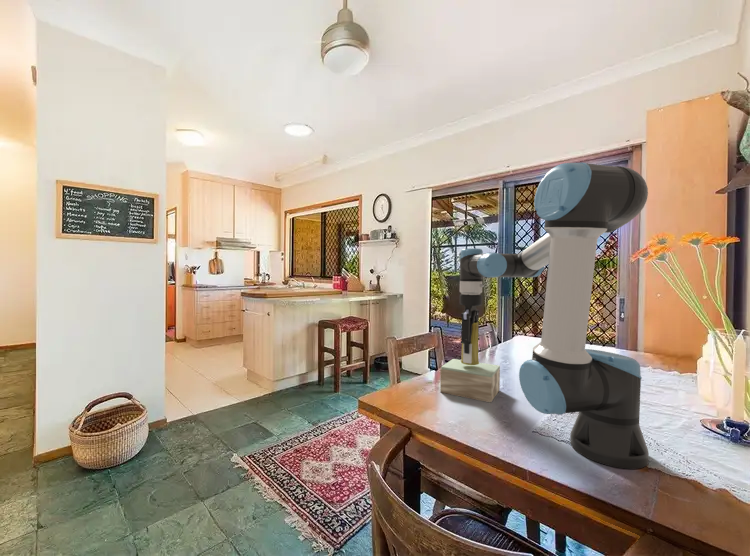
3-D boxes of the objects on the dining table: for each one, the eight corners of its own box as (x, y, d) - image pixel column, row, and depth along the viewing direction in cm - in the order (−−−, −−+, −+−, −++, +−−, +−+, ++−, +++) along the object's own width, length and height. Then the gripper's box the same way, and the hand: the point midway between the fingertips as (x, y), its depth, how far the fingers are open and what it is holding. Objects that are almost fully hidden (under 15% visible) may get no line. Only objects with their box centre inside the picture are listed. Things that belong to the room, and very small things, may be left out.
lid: (491, 377, 109) (491, 374, 109) (441, 368, 118) (441, 366, 118) (499, 367, 120) (499, 365, 120) (452, 360, 129) (452, 358, 129)
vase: (477, 360, 121) (477, 320, 120) (480, 365, 114) (481, 323, 114) (459, 360, 121) (460, 320, 121) (462, 365, 115) (462, 322, 115)
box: (491, 402, 109) (491, 377, 109) (440, 392, 118) (440, 369, 118) (499, 390, 120) (499, 367, 120) (452, 381, 129) (452, 360, 129)
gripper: (474, 295, 107) (473, 368, 108) (488, 292, 123) (487, 356, 124) (451, 294, 111) (450, 365, 112) (467, 291, 127) (467, 353, 128)
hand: (469, 360), depth 118 cm, fingers closed on vase, 6 cm apart
